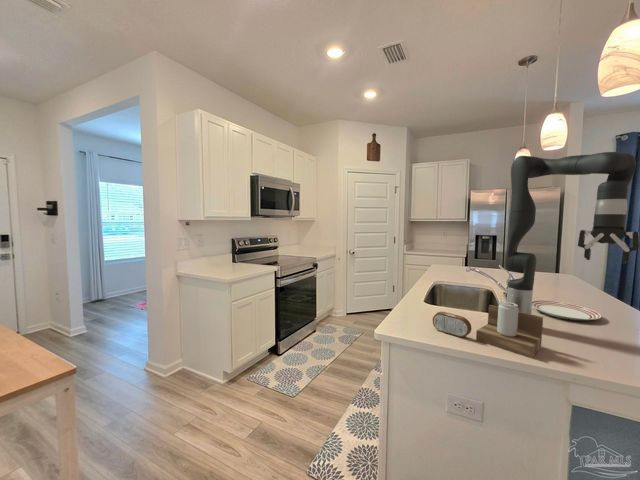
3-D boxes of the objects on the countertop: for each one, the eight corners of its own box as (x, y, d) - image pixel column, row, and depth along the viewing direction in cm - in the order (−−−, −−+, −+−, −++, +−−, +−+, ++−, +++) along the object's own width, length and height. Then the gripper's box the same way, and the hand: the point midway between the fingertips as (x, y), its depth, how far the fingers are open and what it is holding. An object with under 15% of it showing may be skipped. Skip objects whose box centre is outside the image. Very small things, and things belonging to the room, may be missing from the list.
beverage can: (520, 338, 103) (522, 307, 102) (501, 337, 105) (503, 305, 104) (511, 331, 110) (513, 301, 109) (493, 330, 111) (495, 300, 110)
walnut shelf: (488, 332, 119) (489, 304, 118) (540, 348, 105) (543, 317, 104) (476, 340, 111) (477, 310, 110) (530, 358, 97) (533, 324, 96)
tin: (471, 338, 113) (472, 318, 112) (468, 340, 111) (469, 320, 110) (434, 327, 124) (434, 309, 123) (431, 329, 121) (431, 310, 121)
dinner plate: (607, 317, 139) (608, 310, 139) (592, 329, 124) (592, 321, 123) (540, 302, 162) (541, 297, 161) (520, 311, 146) (521, 305, 146)
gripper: (643, 213, 90) (638, 263, 91) (583, 213, 101) (579, 258, 103) (641, 212, 86) (635, 265, 87) (578, 213, 97) (574, 259, 98)
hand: (605, 261), depth 95 cm, fingers open, 8 cm apart
